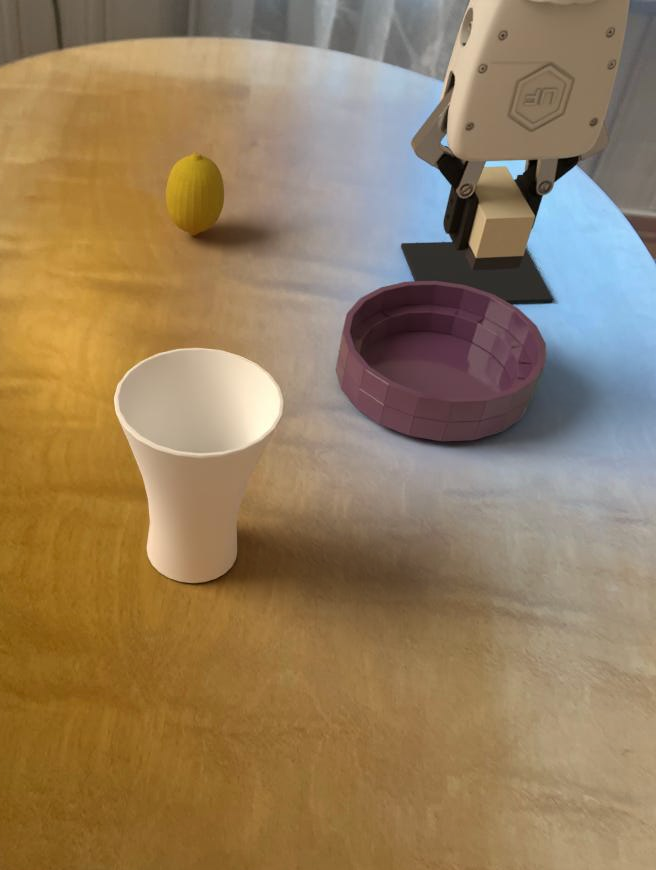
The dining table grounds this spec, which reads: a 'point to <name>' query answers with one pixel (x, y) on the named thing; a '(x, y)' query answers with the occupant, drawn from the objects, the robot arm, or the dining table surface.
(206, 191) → the lemon
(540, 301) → the mat
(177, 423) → the cup
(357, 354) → the bowl
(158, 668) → the dining table surface
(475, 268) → the eraser
